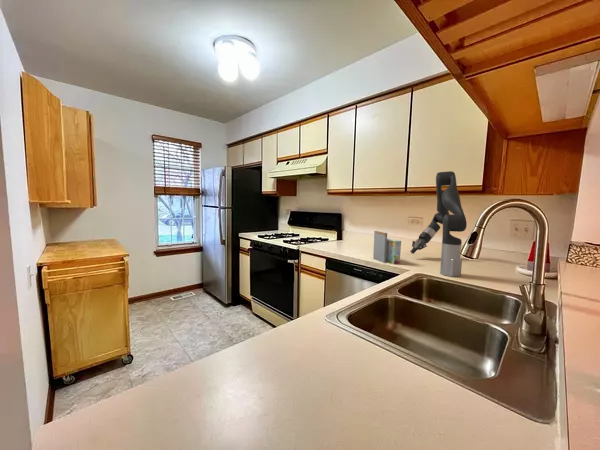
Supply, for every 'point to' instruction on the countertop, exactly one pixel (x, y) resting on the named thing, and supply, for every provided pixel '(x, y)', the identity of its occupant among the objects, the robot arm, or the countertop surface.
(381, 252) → the board
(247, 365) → the countertop surface
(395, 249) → the snack box
